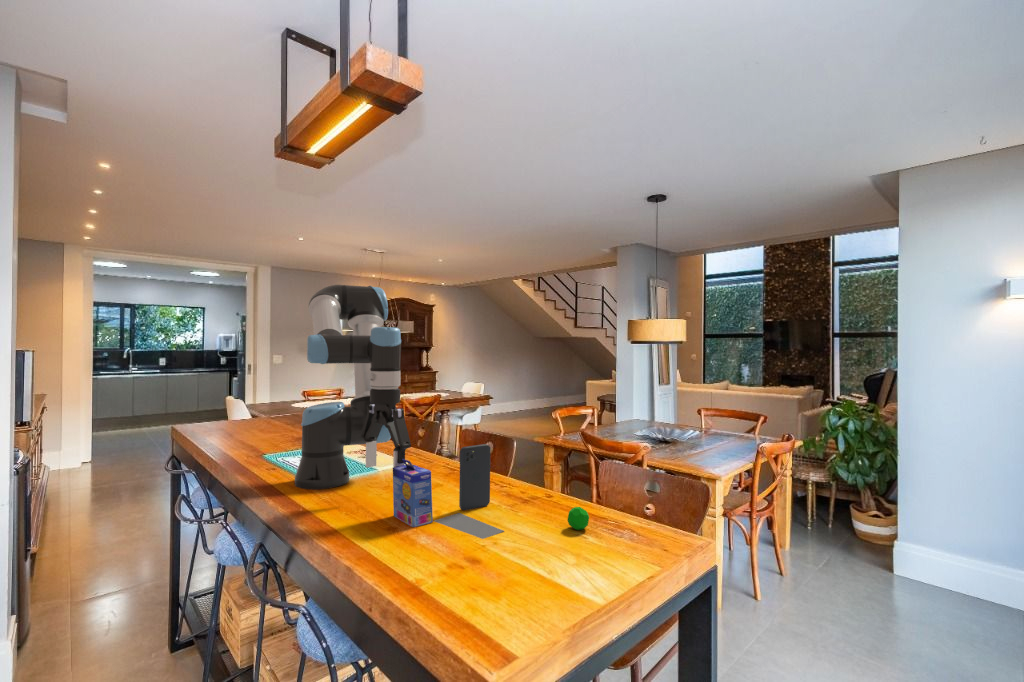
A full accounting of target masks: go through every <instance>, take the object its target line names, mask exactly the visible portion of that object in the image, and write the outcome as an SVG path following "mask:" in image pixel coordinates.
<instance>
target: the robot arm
mask: <svg viewBox="0 0 1024 682" xmlns="http://www.w3.org/2000/svg"><path fill="white" fill-rule="evenodd" d="M387 298H388V297H387V294H386V292H385V291H384V289H383V288H381V287H380V286H379V287H378V286H372V285H368V286H365V285H348V284H347V285H346V284H333V285H332V284H331V285H327V286H325V287H323V288H321V289H319V290H318V291H316V292H315V293H314V294H313V295H312V296H311V298H310V299H309V302H308V314H309V316H310V317H311V319H312V326H313V327H312V328H313V334H311V335H308V336H307V340H306V341H307V342H306V361H308V362H309V363H311V364H320V365H325V364H327V365H328V364H333V365H334V364H353V367H354V368H353V370H354V390H355V391H354V393H355V395H354V397H353V398H352V399H351V400H350V406H345V403H344V402H342V401H335V402H334V401H331V402H325V403H324V402H323V403H319V404H315V405H310V406H308V407H306V408H304V410H303V412H302V416H301V417H302V418H301V419H302V420H301V423H300V426H301V427H302V428H301V459H300V462H299V464H298V468H297V470H296V473H295V476H294V486H295V487H296V488H299V489H302V490H303V489H304V490H325V489H331V488H332V489H333V488H337V487H341V486H343V485H345V484H347V483H349V482H350V471H349V468H348V464H347V462H346V459H345V456H344V448H345V447H344V446H356V445H365V468H373V467H376V466H377V453H378V452H377V444H382V443H387V442H389V441H390V440H391V441H392V444H393V446H394V449H393V455H392V457H393V458H392V460H393V462H392V463H393V464H392V468H393V467H396V466H402V465H405V464H404V462H403V460H402V459H405V460H406V450H408V449H410V448H412V443H411V439H410V436H409V435H410V434H409V431H408V427H407V424H406V419H405V411H404V408H397V404H399V403H400V402H401V388H399V387H400V386H401V380H402V379H401V372H402V371H401V357H402V356H401V352H402V339H401V338H402V337H401V335H402V334H401V329H400V328H399V327H391V326H390V327H389V326H383V325H384V322H385V321H387V319H388V315H389V307H388V306H389V304H388V299H387ZM341 320H342V321H347V325H348V326H349V328H350V329H352V335H351V334H350V335H349V334H343V329H342V323H341Z"/></svg>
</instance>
